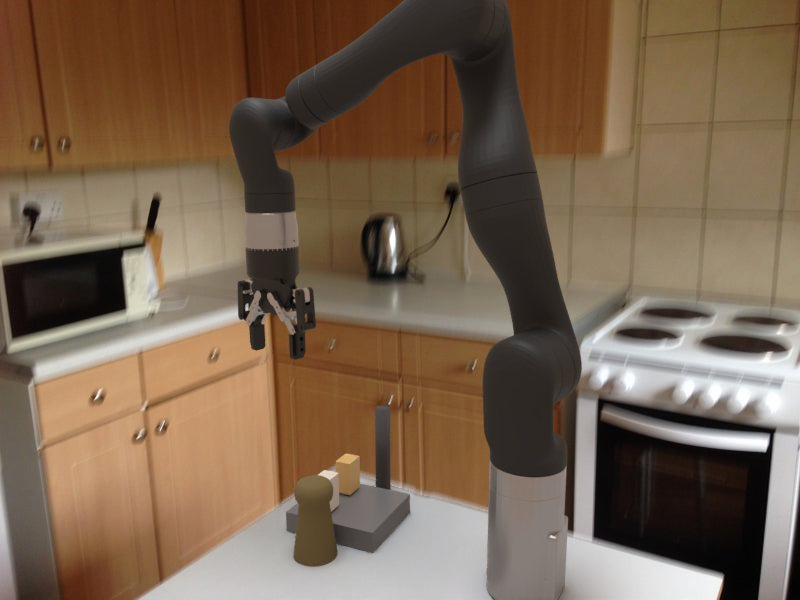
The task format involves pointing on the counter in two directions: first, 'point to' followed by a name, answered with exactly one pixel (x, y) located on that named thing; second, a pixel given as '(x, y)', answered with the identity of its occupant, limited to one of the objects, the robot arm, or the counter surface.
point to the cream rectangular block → (335, 483)
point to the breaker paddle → (348, 473)
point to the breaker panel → (363, 516)
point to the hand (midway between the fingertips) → (277, 353)
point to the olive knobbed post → (314, 522)
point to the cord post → (382, 446)
